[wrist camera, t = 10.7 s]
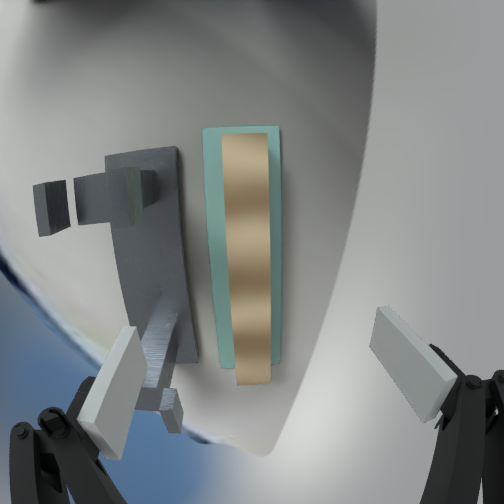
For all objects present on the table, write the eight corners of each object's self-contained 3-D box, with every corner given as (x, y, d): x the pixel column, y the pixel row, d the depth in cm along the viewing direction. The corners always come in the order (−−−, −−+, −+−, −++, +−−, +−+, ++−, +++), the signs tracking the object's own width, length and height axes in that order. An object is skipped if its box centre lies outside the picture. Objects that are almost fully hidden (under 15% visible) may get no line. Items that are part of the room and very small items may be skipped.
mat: (202, 129, 24) (202, 128, 23) (277, 127, 24) (279, 126, 23) (221, 365, 31) (221, 368, 30) (279, 360, 32) (279, 363, 31)
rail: (222, 139, 23) (221, 134, 20) (261, 138, 24) (267, 132, 20) (235, 362, 30) (237, 385, 27) (265, 360, 31) (270, 382, 27)
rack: (109, 156, 23) (27, 153, 11) (176, 147, 24) (130, 126, 11) (143, 356, 30) (114, 438, 18) (198, 356, 30) (189, 446, 18)
